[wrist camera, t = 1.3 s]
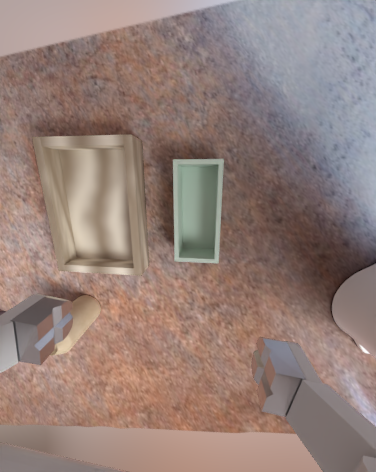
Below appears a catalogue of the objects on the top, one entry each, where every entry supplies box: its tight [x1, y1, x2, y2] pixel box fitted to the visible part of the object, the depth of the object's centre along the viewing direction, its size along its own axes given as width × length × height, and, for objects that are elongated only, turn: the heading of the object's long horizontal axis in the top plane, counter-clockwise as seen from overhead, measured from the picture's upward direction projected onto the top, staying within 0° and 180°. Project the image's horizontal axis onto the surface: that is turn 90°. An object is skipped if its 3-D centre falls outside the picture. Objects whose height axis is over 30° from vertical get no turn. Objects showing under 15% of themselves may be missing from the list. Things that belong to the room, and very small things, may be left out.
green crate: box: [173, 159, 224, 263], centre depth 28 cm, size 6×14×5 cm, turn 0°
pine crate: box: [32, 134, 149, 276], centre depth 30 cm, size 14×20×4 cm
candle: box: [50, 295, 101, 355], centre depth 33 cm, size 6×6×10 cm
